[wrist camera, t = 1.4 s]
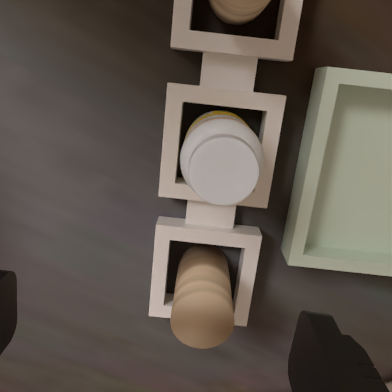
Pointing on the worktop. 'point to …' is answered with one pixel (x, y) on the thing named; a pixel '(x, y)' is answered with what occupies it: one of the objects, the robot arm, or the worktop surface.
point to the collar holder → (269, 137)
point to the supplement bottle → (221, 158)
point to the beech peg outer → (202, 298)
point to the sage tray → (344, 176)
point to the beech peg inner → (237, 10)
